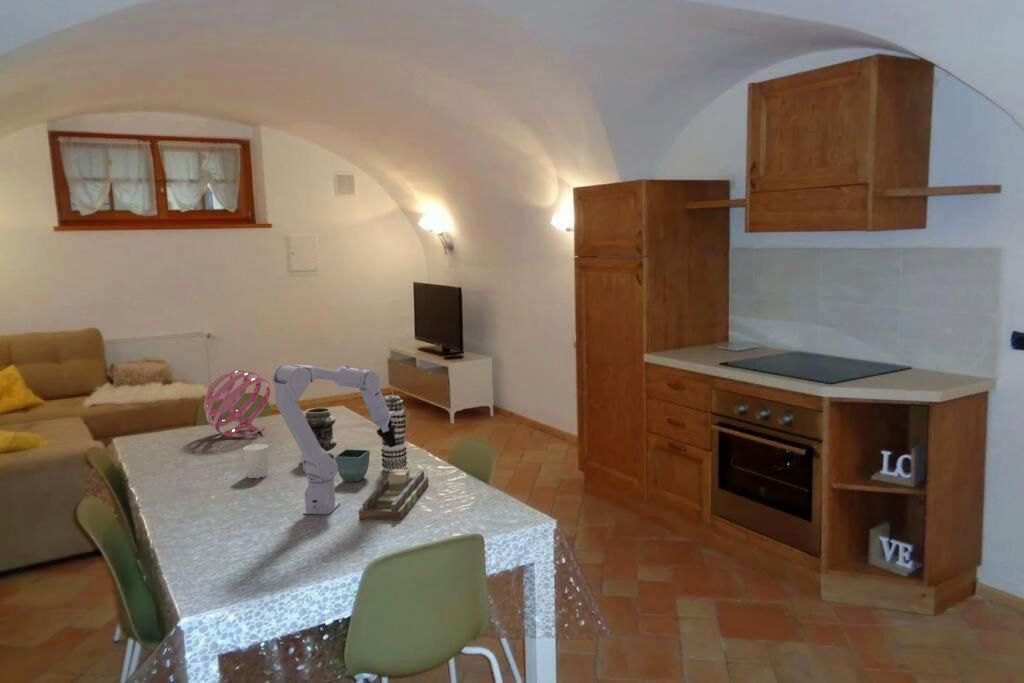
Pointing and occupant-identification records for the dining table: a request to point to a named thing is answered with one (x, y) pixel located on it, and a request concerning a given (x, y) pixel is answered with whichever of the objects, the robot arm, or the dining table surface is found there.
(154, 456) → the dining table surface
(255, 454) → the white cup
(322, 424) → the apothecary jar
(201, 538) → the dining table surface
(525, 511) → the dining table surface
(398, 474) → the maple block
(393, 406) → the black and white cylinder
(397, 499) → the trap box
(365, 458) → the flower pot
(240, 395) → the pink slatted sphere
